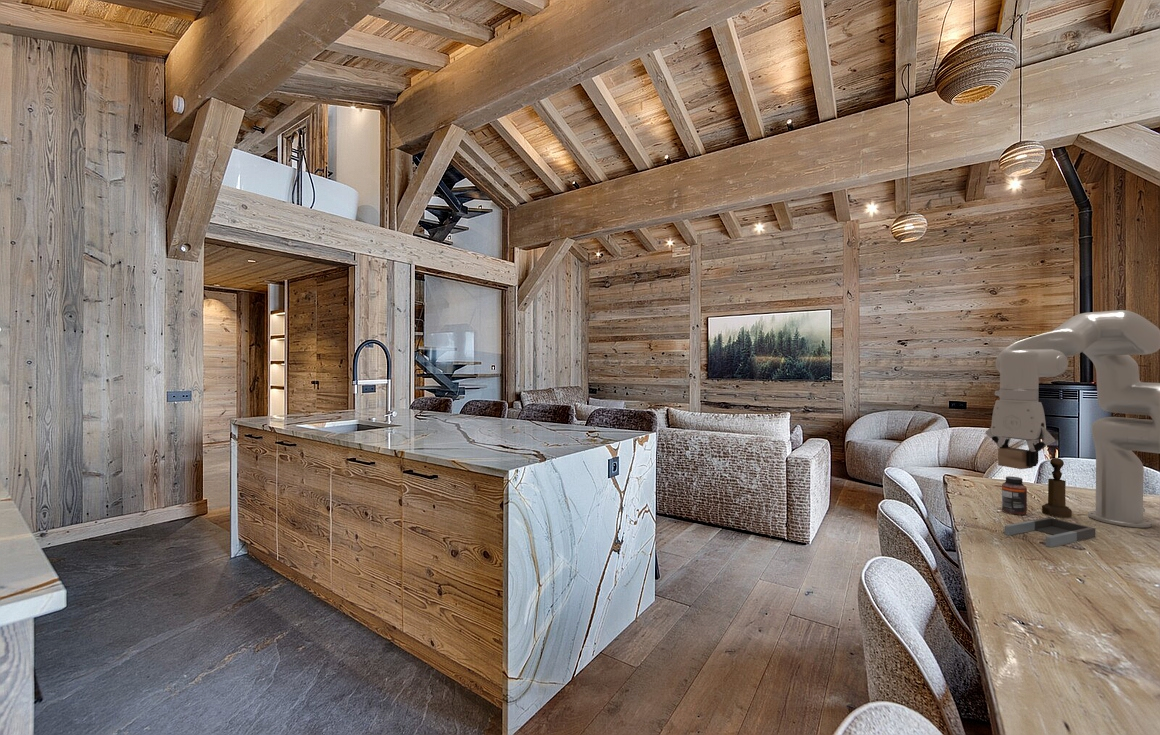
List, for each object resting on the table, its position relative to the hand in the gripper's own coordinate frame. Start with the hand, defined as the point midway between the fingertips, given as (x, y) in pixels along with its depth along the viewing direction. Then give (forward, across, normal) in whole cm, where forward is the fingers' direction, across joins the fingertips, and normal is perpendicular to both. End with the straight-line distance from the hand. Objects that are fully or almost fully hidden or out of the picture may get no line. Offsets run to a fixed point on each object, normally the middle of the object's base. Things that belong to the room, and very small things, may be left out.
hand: (1018, 463), depth 125 cm
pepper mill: (+22, -10, +40) cm, 46 cm away
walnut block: (+1, 0, -1) cm, 1 cm away
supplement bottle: (+22, -16, +30) cm, 40 cm away
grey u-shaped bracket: (+21, 0, +14) cm, 25 cm away
